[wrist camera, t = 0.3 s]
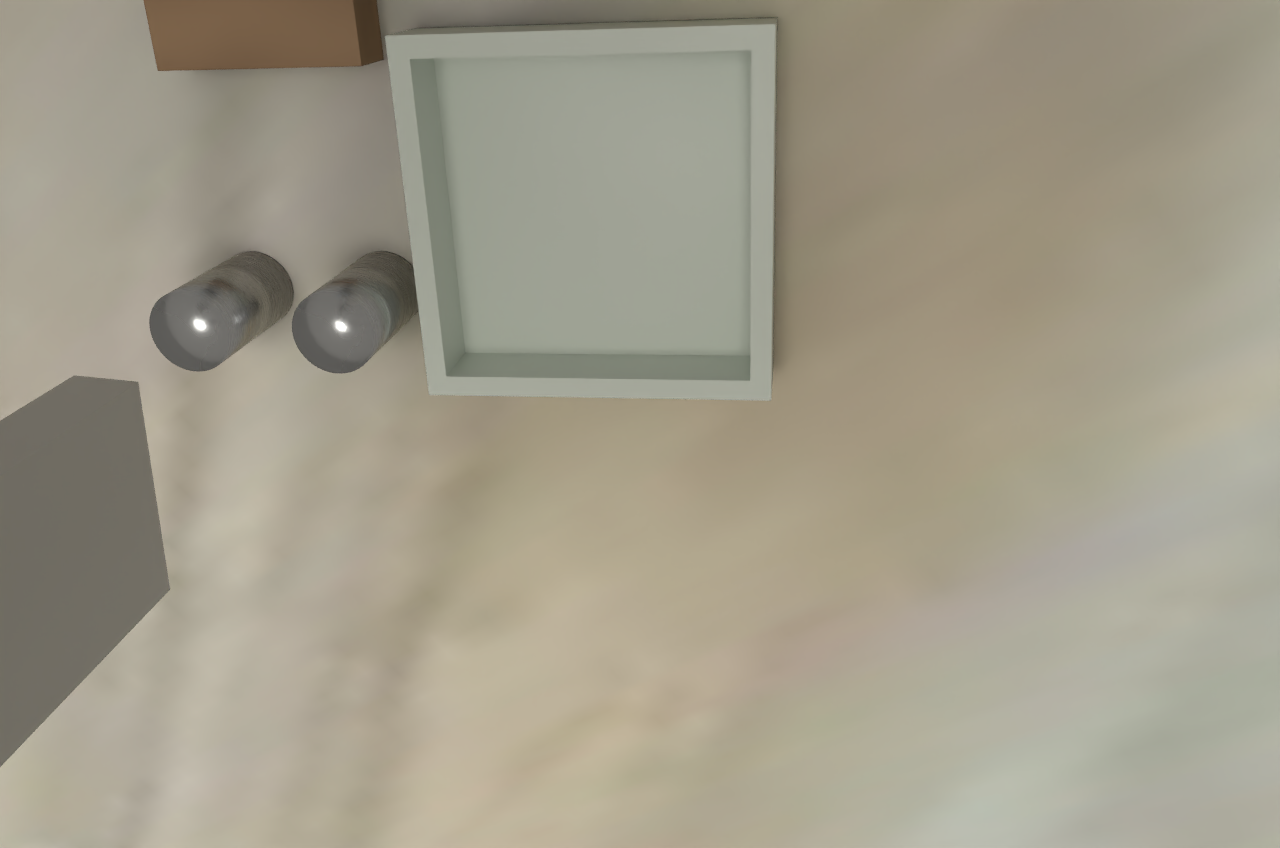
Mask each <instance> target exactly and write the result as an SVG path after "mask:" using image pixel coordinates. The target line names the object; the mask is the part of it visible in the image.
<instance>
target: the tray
mask: <svg viewBox="0 0 1280 848" xmlns="http://www.w3.org/2000/svg"><path fill="white" fill-rule="evenodd" d="M777 20H778V17H769V18H737V19H704V20H671V21H638V22H606V23H573V24H540V25H508V26H475V27H442V28H415V29H411V30H407V31H403V32H398V33H394V34H390V35H386V36H385V41H386V49H387V57H388V65H389V73H390V81H391V89H392V98H393V106H394V114H395V122H396V130H397V138H398V146H399V155H400V163H401V171H402V179H403V187H404V195H405V203H406V211H407V220H408V228H409V236H410V244H411V252H412V260H413V268H414V277H415V285H416V293H417V301H418V309H419V317H420V325H421V334H422V342H423V350H424V358H425V366H426V374H427V382H428V390H429V395H463V396H524V397H585V398H646V399H707V400H768V401H771V396H772V380H773V344H774V263H775V182H776V101H777Z"/></svg>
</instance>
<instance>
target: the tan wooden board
mask: <svg viewBox="0 0 1280 848" xmlns="http://www.w3.org/2000/svg"><path fill="white" fill-rule="evenodd" d="M144 5H145V9H146V14H147V19H148V24H149V29H150V34H151V39H152V44H153V49H154V54H155V59H156V64H157V69H158V71H172V70H215V69H258V68H301V67H344V66H363V65H367V64H370V63H373V62H377V61H380V60H383V59H384V58H383V50H382V41H381V33H380V25H379V17H378V9H377V0H144Z"/></svg>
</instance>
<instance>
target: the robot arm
mask: <svg viewBox="0 0 1280 848" xmlns="http://www.w3.org/2000/svg"><path fill="white" fill-rule="evenodd" d="M169 590H170V586H169V580H168V573H167V567H166V560H165V554H164V547H163V541H162V534H161V528H160V521H159V515H158V508H157V501H156V495H155V488H154V482H153V475H152V469H151V462H150V456H149V449H148V443H147V436H146V430H145V423H144V417H143V410H142V404H141V397H140V391H139V384H138V382H134V381H124V380H114V379H104V378H94V377H84V376H73V377H71V378H69V379H68V380H66V381H64V382H63V383H61V384H60V385H58V386H56V387H55V388H53V389H51V390H50V391H48V392H47V393H45V394H43V395H42V396H40V397H38V398H37V399H35V400H33V401H32V402H30V403H29V404H27V405H25V406H24V407H22V408H20V409H19V410H17V411H15V412H14V413H12V414H11V415H9V416H7V417H6V418H4V419H2V420H1V421H0V767H1V766H2V765H3V763H4V762H5V761H6V760H7V759H8V758H9V757H10V756H11V755H12V754H13V753H14V752H15V751H16V750H17V749H18V748H19V747H20V746H21V745H22V744H23V743H24V742H25V740H26V739H27V738H28V737H29V736H30V735H31V734H32V733H33V732H34V731H35V730H36V729H37V728H38V727H39V726H40V725H41V724H42V723H43V722H44V721H45V720H46V719H47V717H48V716H49V715H50V714H51V713H52V712H53V711H54V710H55V709H56V708H57V707H58V706H59V705H60V704H61V703H62V702H63V701H64V700H65V699H66V698H67V697H68V696H69V694H70V693H71V692H72V691H73V690H74V689H75V688H76V687H77V686H78V685H79V684H80V683H81V682H82V681H83V680H84V679H85V678H86V677H87V676H88V675H89V674H90V673H91V671H92V670H93V669H94V668H95V667H96V666H97V665H98V664H99V663H100V662H101V661H102V660H103V659H104V658H105V657H106V656H107V655H108V654H109V653H110V652H111V651H112V650H113V649H114V647H115V646H116V645H117V644H118V643H119V642H120V641H121V640H122V639H123V638H124V637H125V636H126V635H127V634H128V633H129V632H130V631H131V630H132V629H133V628H134V627H135V626H136V624H137V623H138V622H139V621H140V620H141V619H142V618H143V617H144V616H145V615H146V614H147V613H148V612H149V611H150V610H151V609H152V608H153V607H154V606H155V605H156V604H157V603H158V601H159V600H160V599H161V598H162V597H163V596H164V595H165V594H166V593H167V592H168V591H169Z"/></svg>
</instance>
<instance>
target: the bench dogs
mask: <svg viewBox="0 0 1280 848" xmlns="http://www.w3.org/2000/svg"><path fill="white" fill-rule="evenodd" d="M292 302H293V287H292V283H291V280H290V278H289V276H288V274H287V273H286V271H285V270H284V268H283V267H282V266H281V265H280V264H279V263H278V262H277V261H275V260H274V259H273V258H271V257H269V256H267V255H265V254H262V253H259V252H243V253H240V254H237V255H235V256H234V257H232V258H230V259H228V260H226V261H225V262H223V263H221V264H219V265H218V266H216V267H214V268H212V269H211V270H209V271H207V272H205V273H203V274H202V275H200V276H198V277H196V278H195V279H193V280H191V281H189V282H188V283H186V284H184V285H182V286H180V287H179V288H177V289H175V290H173V291H172V292H170V293H168V294H166V295H165V296H163V297H161V298H160V299H159V300H158V301H157V302H156V303H155V305H154V307H153V309H152V311H151V315H150V331H151V335H152V338H153V340H154V342H155V344H156V346H157V348H158V349H159V350H160V352H161V353H162V354H163V355H164V356H165V357H166V358H167V359H168V360H169V361H171V362H172V363H174V364H175V365H177V366H179V367H181V368H184V369H187V370H191V371H206V370H210V369H213V368H215V367H216V366H218V365H219V364H221V363H222V362H223V361H225V360H226V359H227V358H229V357H230V356H231V355H233V354H234V353H235V352H237V351H238V350H240V349H241V348H242V347H244V346H245V345H246V344H248V343H249V342H250V341H252V340H253V339H254V338H256V337H257V336H259V335H260V334H261V333H263V332H264V331H265V330H267V329H268V328H269V327H271V326H272V325H273V324H275V323H276V322H278V321H279V320H280V319H282V318H283V317H284V316H285V315H286V314H287V313H288V311H289V310H290V308H291V305H292ZM417 311H418V301H417V293H416V285H415V277H414V268H413V267H412V265H411V264H410V263H409V262H407V261H406V260H405V259H403V258H402V257H400V256H398V255H396V254H393V253H390V252H384V251H377V252H372V253H369V254H366V255H365V256H363V257H361V258H360V259H359V260H357V261H356V262H355V263H353V264H352V265H350V266H349V267H348V268H346V269H345V270H344V271H342V272H341V273H340V274H338V275H337V276H335V277H334V278H333V279H331V280H330V281H329V282H327V283H326V284H325V285H323V286H322V287H320V288H319V289H318V290H316V291H315V292H314V293H312V294H311V295H309V296H308V297H307V298H305V299H304V300H303V301H302V302H301V303H300V304H299V305H298V307H297V308H296V310H295V313H294V316H293V320H292V332H293V337H294V340H295V343H296V345H297V347H298V349H299V350H300V352H301V353H302V354H303V355H304V357H305V358H306V359H307V360H308V361H309V362H311V363H312V364H313V365H315V366H317V367H318V368H320V369H322V370H325V371H328V372H332V373H348V372H352V371H355V370H357V369H359V368H360V367H362V366H363V365H364V364H365V363H366V362H367V361H368V360H369V359H370V358H371V357H372V356H373V355H374V354H375V353H376V352H377V351H378V350H379V349H380V348H381V347H382V346H383V345H384V344H385V343H386V342H387V341H389V340H390V339H391V338H392V337H393V336H394V335H395V334H396V333H397V332H398V331H399V330H400V329H401V328H402V327H403V326H404V325H405V324H406V323H407V322H408V321H409V320H410V319H411V318H412V317H413V316H414V315H415V314H416V313H417Z"/></svg>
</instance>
